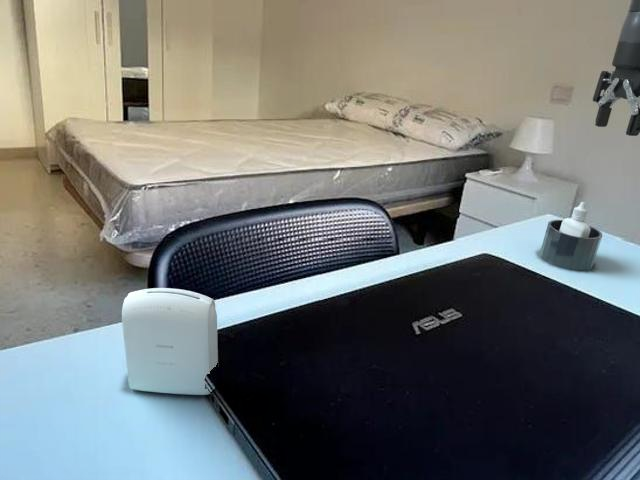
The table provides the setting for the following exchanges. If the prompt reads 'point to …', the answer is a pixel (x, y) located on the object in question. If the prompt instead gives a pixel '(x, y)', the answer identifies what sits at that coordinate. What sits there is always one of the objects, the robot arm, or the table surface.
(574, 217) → the eye dropper bottle
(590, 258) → the desk tube
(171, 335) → the photo printer
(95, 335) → the table surface
